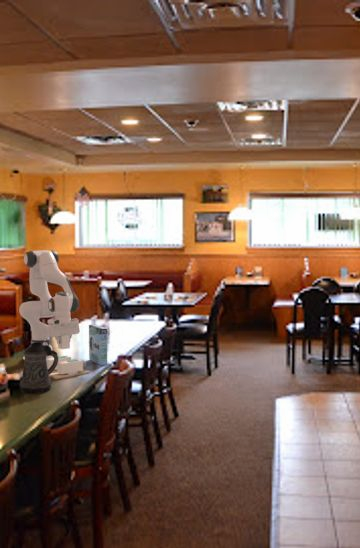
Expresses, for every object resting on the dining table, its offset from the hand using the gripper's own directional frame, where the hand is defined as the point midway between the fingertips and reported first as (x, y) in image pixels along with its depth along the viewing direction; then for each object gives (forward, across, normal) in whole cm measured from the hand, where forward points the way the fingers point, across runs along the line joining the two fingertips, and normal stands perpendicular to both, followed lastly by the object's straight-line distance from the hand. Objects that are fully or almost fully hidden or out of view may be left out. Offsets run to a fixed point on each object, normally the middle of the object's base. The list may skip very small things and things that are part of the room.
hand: (63, 343), depth 371 cm
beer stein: (+18, +29, +24) cm, 42 cm away
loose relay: (+18, -16, -8) cm, 26 cm away
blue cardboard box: (+18, -31, -12) cm, 38 cm away
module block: (+3, 0, 0) cm, 3 cm away
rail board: (+18, 0, 0) cm, 18 cm away
